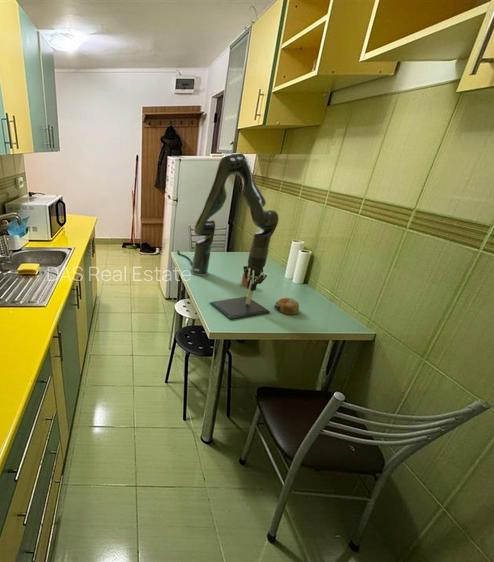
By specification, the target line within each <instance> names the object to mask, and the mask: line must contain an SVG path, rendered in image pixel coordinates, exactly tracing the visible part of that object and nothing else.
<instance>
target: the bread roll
mask: <svg viewBox="0 0 494 562" xmlns="http://www.w3.org/2000/svg"><path fill="white" fill-rule="evenodd" d="M274 308H275V309H276V310H277V311H278V312H280V313H281V314H285V315H291V316H292V315H293V316H294V315H298V314H299V310H300V305H299V302H298V301H297V300H296V299H294V298H291V297H283V298H280V299H279V300H277V301H275V305H274Z"/></svg>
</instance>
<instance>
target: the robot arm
mask: <svg viewBox="0 0 494 562" xmlns="http://www.w3.org/2000/svg"><path fill="white" fill-rule="evenodd" d="M250 167H251V166H250V165H249V162H248V160H247V157H246V156H245V155H244V154H243V152H234V153H229V154H224V155H223V156H222V157H221V158H220V160H219V162H218V165H217V169H216V172H215V177H214V179H213V182H212V185H211V188H210V190H209V192H208V195H207V197H206V200H205V202H204V205H203V208H202V210H201V212H200V214H199V216H198V218H197V219H196V221H195V224H194V234H195V235H196V236H199V237H200V236H201V237H202V238H199V239H198V240H195V244H194V253H193V257H192V260H191V258H190V257H188V256H187V255H185V254H182V253H180V250H179V249H177V251H176V252H177V254H178V255H179V256H182V257H185V258H186V259H187V260H188V261H189V262H190V265H191V273H192V274H193V275H195V276H207V275H208V270H209V265H210V258H211V251H212V245H213V243H214V236H215V232H216V221H215V220H214V219H210V218H212V217H213V216H215V215H216V214H217V213H219V211H220V210H222V208H223V207H224V204H225V203H226V200H227V197H228V192H227V188H226V182H227V181H228V178H229V177H230V176H233V175H238V176H239V177H240V178H241V181H242V190H241V191H242V192H241V193H242V197H243V200H244V201H245V203H246V205H247V207H248V208H249V214H250V216H251V221H252V223H253V224H254V226H256V227H257V228H260V229H259V230H257V231H256V232H255V233H254V234H253V238H252V243H251V246H250V250H249V254H248V259H247V265H244V266H243V267H242V269H243V273H244V275H245V278H246V279H247V281H248V282H247V287H246V289H248V290H249V285H250V280H251V279H253V280H252V285H251V289H250V290H251V291H253V292H254V291H256V290H257V286H258V285H261V284H262V283H263V282H264V281H265V280H266V278H267V277H268V275H267V274H265V273H264V268H265V266H266V263H267V259H268V254H269V247H270V243H271V238H272V236H273V235H274V233H275V230H276V228H277V226H278V224H279V218H280V217H279V214H278V212H277V211H276V210H274V209H273V210H272V209H270V210H265V209H264V207H265V206H266V204H267V202H266V199H265V197H264V196H263V194H262V192H261V191H260V189H259V187H258V185H257V183H256V181H255V179H254V176H253V173H252V170H251V168H250ZM203 236H204V237H203ZM247 273H248V275H247Z"/></svg>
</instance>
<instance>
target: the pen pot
mask: <svg viewBox="0 0 494 562" xmlns="http://www.w3.org/2000/svg"><path fill="white" fill-rule="evenodd" d="M247 275H248V273H247ZM247 282H248V281H247V279H246V278H245V275H244V272H243V273H242V278H241V283H240V286H242V287H244V288H247Z"/></svg>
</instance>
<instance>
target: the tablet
mask: <svg viewBox="0 0 494 562" xmlns="http://www.w3.org/2000/svg"><path fill="white" fill-rule="evenodd" d="M246 299H247V296H242V297H235V298H229V299H222V300H216V301H210V302H209V305H211V306H212V307H214V308H215V309H216V310H218V312H220V313H221V314H222V315H224V316H225V317H226V318H227V319H229V320H237V319H244V318H248V317H254V316H260V315H266V314H270V312H271V311H270V310H269V309H267V308H266V307H264V306H262V305H261V304H260V303H258V302H256V301H254V300H253V299H251V302H250V304H249V305H247V304H246Z"/></svg>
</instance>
